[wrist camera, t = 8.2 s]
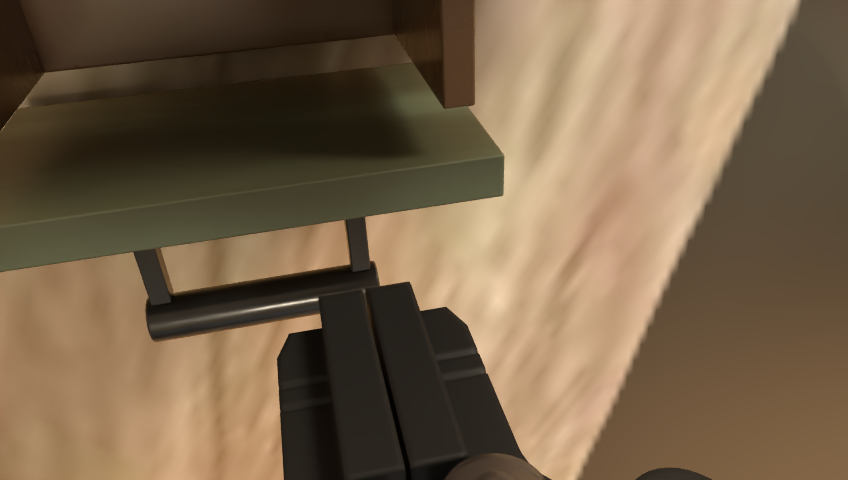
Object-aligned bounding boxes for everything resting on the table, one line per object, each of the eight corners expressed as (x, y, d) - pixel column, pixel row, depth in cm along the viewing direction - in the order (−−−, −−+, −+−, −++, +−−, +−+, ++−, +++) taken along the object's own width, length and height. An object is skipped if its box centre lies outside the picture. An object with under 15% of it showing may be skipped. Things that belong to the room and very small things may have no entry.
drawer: (439, 211, 27) (500, 339, 20) (80, 266, 24) (21, 429, 18) (416, -378, 17) (520, -491, 11) (-173, -373, 15) (-485, -509, 9)
